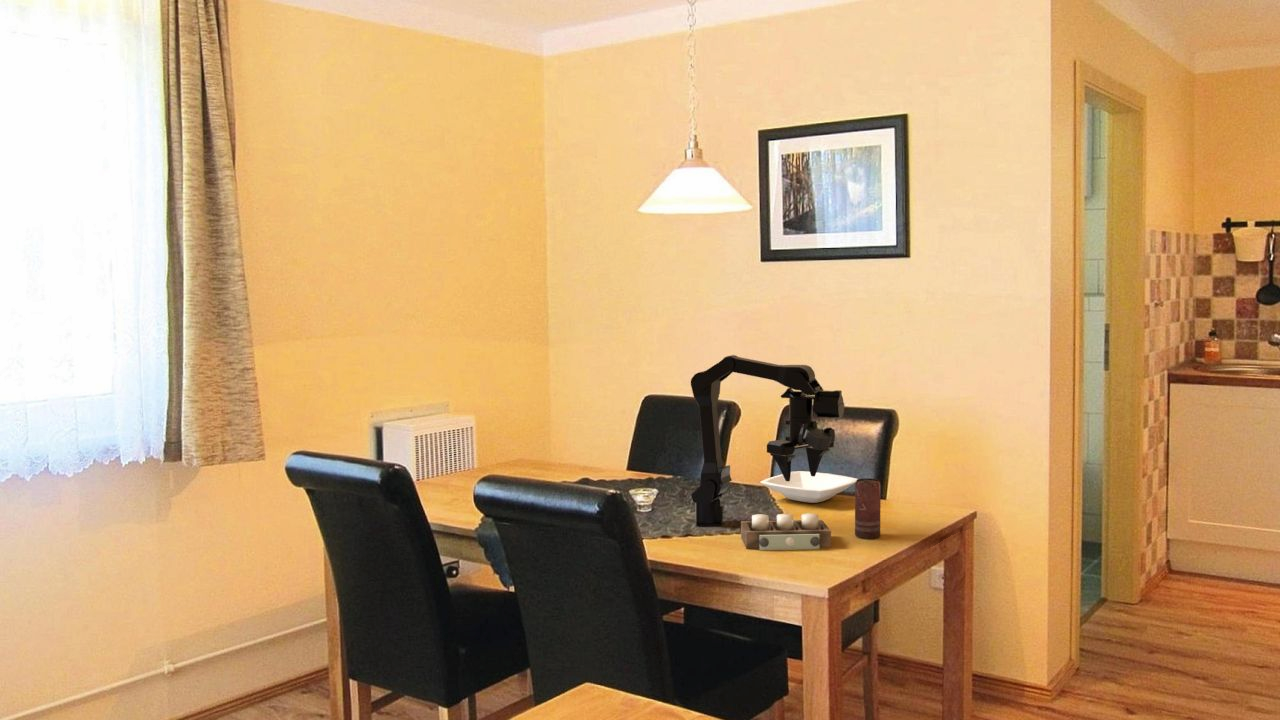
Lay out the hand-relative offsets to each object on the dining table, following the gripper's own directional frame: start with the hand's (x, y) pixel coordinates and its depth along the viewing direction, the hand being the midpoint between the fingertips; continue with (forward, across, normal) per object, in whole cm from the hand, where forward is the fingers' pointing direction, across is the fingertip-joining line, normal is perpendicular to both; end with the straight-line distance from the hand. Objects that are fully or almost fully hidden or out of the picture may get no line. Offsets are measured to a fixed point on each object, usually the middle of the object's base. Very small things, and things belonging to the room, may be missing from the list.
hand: (800, 478), depth 273 cm
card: (+14, -14, -9) cm, 21 cm away
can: (+14, +9, -14) cm, 22 cm away
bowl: (+14, +30, +24) cm, 40 cm away
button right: (+10, -5, -8) cm, 14 cm away
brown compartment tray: (+14, -10, -4) cm, 17 cm away
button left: (+10, -15, 0) cm, 18 cm away
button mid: (+10, -10, -4) cm, 15 cm away
